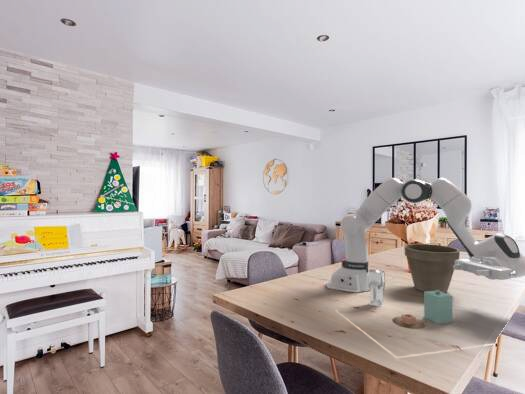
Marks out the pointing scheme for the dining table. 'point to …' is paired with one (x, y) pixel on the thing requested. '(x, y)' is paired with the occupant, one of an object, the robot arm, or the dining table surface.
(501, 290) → the dining table surface
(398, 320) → the disc
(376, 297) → the shiny silver metal cup
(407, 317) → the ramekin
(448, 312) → the teal knobbed box
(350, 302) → the dining table surface
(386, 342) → the dining table surface
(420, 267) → the plant pot
